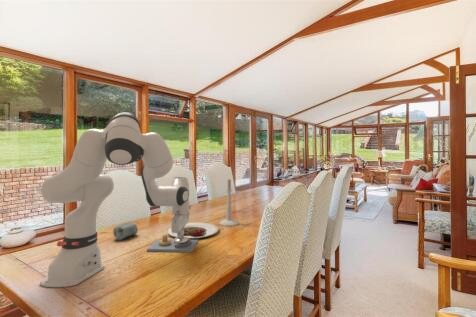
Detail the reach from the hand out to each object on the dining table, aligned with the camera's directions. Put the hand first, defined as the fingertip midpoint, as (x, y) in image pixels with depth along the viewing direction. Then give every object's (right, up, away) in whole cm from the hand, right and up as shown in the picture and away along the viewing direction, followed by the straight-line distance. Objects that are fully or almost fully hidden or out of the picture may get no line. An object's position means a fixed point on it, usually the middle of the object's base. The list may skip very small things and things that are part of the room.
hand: (180, 236), depth 132 cm
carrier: (-4, -5, +1) cm, 7 cm away
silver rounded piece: (0, -3, 0) cm, 3 cm away
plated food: (+2, -5, +24) cm, 25 cm away
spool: (-34, -5, +15) cm, 38 cm away
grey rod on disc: (+23, -4, +42) cm, 49 cm away
